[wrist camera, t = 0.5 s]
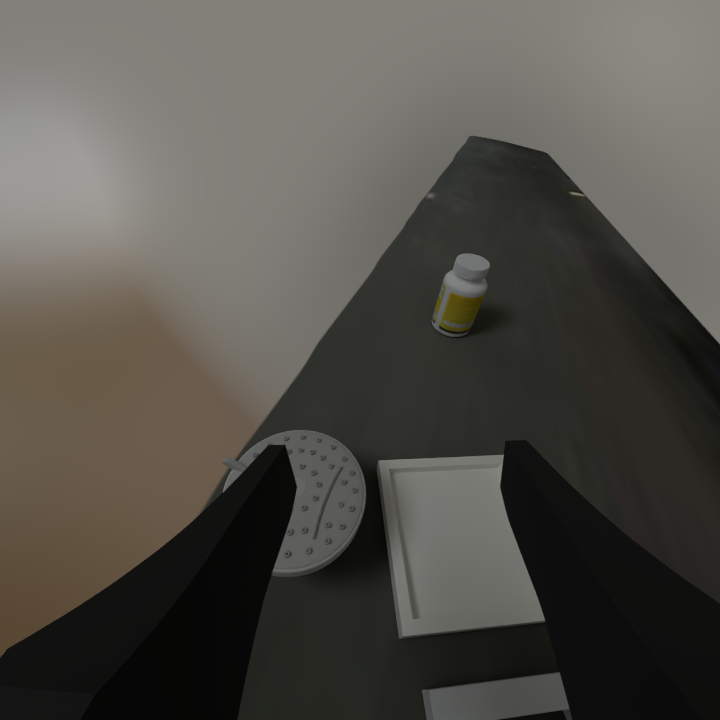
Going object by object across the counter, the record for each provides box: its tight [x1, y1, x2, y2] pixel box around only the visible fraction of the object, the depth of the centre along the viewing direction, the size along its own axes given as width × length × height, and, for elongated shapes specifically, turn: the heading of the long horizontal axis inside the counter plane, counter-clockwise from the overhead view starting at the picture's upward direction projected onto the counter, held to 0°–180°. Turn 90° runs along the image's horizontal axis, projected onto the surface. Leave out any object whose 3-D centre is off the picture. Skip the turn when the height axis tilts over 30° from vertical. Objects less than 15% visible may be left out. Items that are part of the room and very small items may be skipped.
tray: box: [376, 455, 546, 639], centre depth 26 cm, size 12×12×2 cm
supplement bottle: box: [432, 254, 490, 337], centre depth 43 cm, size 5×5×10 cm
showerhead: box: [222, 430, 366, 577], centre depth 24 cm, size 9×7×10 cm
